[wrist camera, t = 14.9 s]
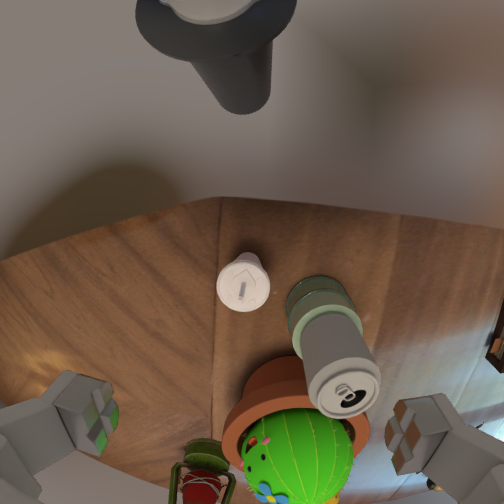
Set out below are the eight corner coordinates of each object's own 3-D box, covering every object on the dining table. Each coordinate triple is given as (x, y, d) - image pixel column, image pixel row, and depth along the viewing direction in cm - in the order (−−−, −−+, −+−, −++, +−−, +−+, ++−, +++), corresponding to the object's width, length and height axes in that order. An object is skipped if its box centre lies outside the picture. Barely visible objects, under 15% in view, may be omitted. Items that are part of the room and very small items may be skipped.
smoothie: (273, 248, 44) (276, 281, 31) (264, 288, 46) (263, 334, 32) (230, 239, 44) (214, 268, 31) (223, 279, 46) (205, 323, 32)
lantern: (177, 456, 58) (147, 558, 29) (179, 431, 55) (143, 547, 26) (235, 468, 58) (222, 574, 29) (243, 444, 55) (230, 565, 26)
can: (322, 370, 38) (338, 434, 26) (286, 336, 37) (293, 400, 25) (367, 336, 36) (398, 393, 25) (334, 298, 35) (360, 353, 24)
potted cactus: (373, 371, 49) (420, 476, 25) (305, 441, 54) (315, 539, 30) (271, 321, 47) (273, 445, 23) (211, 405, 52) (186, 514, 28)
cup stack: (288, 273, 45) (294, 300, 35) (351, 276, 45) (371, 303, 35) (283, 331, 48) (286, 367, 38) (341, 332, 47) (356, 367, 38)
